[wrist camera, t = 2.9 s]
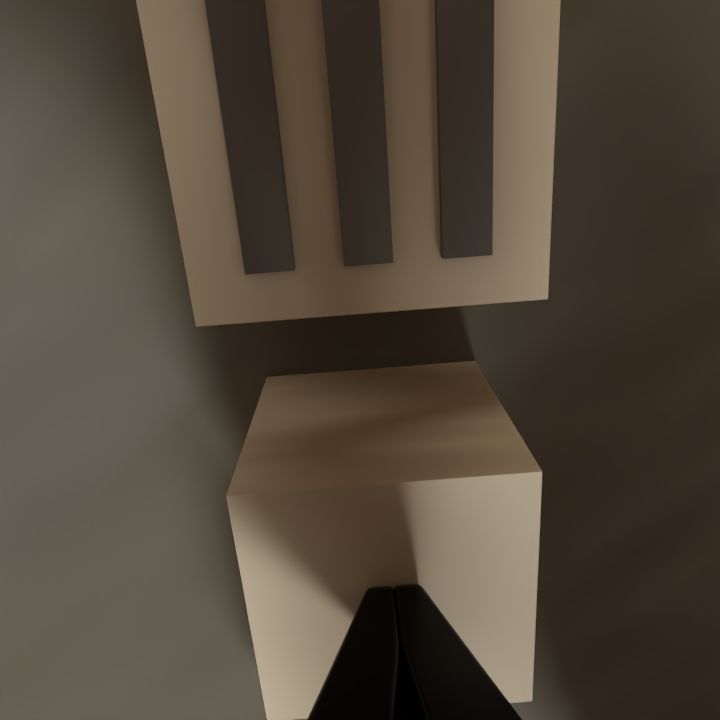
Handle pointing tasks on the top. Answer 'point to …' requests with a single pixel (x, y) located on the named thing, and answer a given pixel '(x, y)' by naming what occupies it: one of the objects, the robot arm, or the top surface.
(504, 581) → the plain block
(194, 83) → the three mark block
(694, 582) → the top surface
